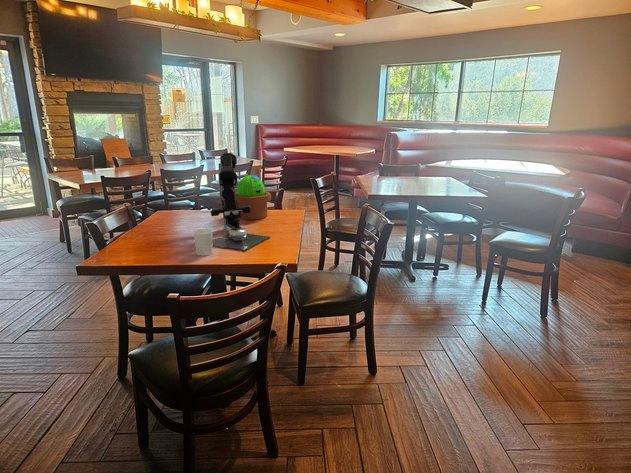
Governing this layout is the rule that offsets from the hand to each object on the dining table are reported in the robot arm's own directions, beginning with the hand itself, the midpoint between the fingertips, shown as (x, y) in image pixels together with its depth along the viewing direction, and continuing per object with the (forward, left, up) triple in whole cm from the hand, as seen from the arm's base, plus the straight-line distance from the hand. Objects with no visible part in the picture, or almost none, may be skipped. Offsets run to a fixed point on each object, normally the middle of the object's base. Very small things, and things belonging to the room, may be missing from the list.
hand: (233, 227), depth 202 cm
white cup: (+3, -26, -5) cm, 26 cm away
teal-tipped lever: (+3, -3, -2) cm, 5 cm away
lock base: (+7, -6, -5) cm, 10 cm away
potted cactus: (-14, +39, -5) cm, 42 cm away
